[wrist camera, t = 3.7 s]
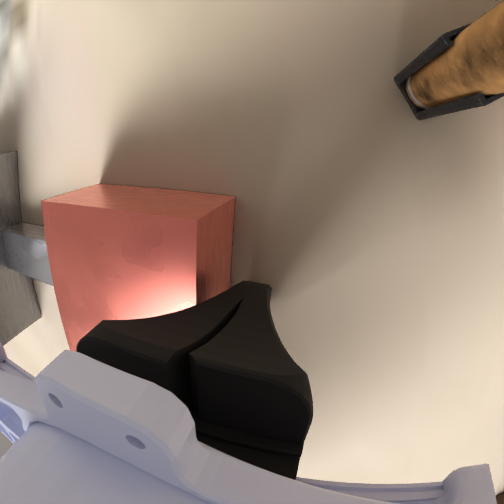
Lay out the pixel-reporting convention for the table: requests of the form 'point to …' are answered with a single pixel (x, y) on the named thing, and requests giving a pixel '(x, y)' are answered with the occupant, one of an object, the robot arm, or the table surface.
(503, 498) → the plant pot
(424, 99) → the ammunition clip
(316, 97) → the table surface
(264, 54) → the table surface
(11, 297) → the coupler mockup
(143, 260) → the red block
